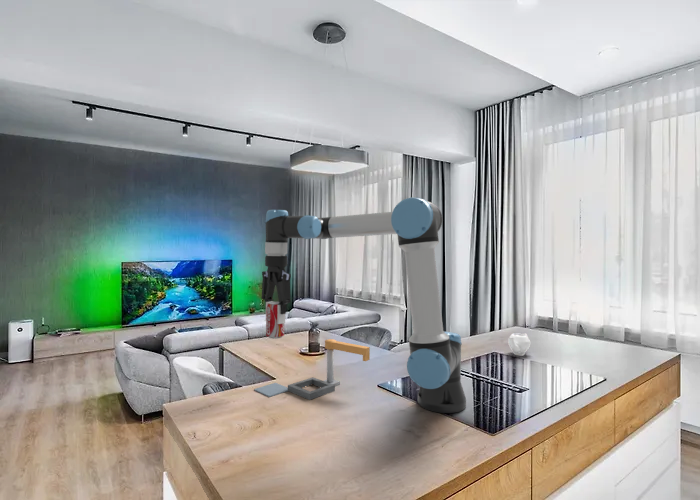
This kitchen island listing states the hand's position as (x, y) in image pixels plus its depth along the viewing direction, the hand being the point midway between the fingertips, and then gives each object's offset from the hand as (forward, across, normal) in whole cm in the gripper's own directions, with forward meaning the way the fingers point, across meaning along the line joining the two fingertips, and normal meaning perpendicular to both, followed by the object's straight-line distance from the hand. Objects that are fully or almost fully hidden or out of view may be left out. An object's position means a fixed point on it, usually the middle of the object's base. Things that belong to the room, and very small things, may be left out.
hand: (275, 321), depth 141 cm
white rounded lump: (+23, -42, -107) cm, 117 cm away
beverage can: (+6, 0, 0) cm, 6 cm away
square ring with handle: (+24, -10, -11) cm, 28 cm away
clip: (+12, -17, -19) cm, 28 cm away
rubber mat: (+24, 0, +1) cm, 24 cm away
